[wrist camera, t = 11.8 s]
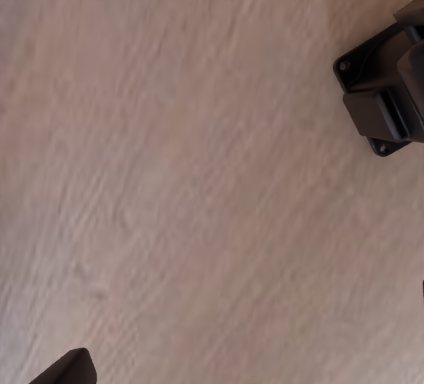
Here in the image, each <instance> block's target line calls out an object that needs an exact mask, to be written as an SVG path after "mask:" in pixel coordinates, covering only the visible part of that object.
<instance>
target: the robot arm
mask: <svg viewBox="0 0 424 384" xmlns="http://www.w3.org/2000/svg"><path fill="white" fill-rule="evenodd" d="M393 15H394V17H395V19H396V21H397V22H396V23H394V24H393V25H391V26H389V27H388V28H386V29H385V30H383V31H381V32H380V33H378V34H377V35H375V36H373V37H372V38H370V39H369V40H367V41H365V42H364V43H362V44H361V45H359V46H357V47H356V48H354V49H353V50H351V51H349V52H348V53H346V54H344V55H343V56H341V57H340V58H338V59H337V60H336V61H335V62H334V64H333V70H334V73H335V75H336V77H337V79H338V81H339V83H340V85H341V87H342V89H343V91H344V93H345V94H344V96H343V102H344V104H345V106H346V108H347V110H348V112H349V114H350V116H351V118H352V120H353V122H354V124H355V126H356V128H357V130H358V132H359V134H360V135H362V136H366V137H367V139H368V141H369V143H370V145H371V147H372V149H373V151H374V153H375V154H376V155H378V156H381V157H386V156H388V155H390V154H392V153H394V152H395V151H397V150H399V149H401V148H402V147H404V146H406V145H408V144H409V143H411V142H420V143H424V0H413V1H412V2H411V3H409V4H408V5H406V6H405V7H403V8H402V9H400V10H399V11H398V12H396V13H395V14H393ZM341 62H344V63H345V64H346V68H345V70H344V71H343V70H341V69H340V63H341ZM382 145H385V147H386V148H385V150H384V151H383V152H381V150H380V148H381V146H382ZM423 296H424V280H423ZM96 383H97V373H96V370H95V367H94V364H93V362H92V359H91V356H90V354H89V351H88V350H87V349H86V348H84V347H83V348H78V349H73V350H70V351H68V352H67V353H66V354H65V355H64V356H62V357H61V358H60V359H59V360H57V361H56V362H55V363H54V364H52V365H51V366H50V367H49V368H48V369H46V370H45V371H44V372H43V373H41V374H40V375H39V376H38V377H36V378H35V379H34V380H33V381H31V382H30V383H29V384H96Z"/></svg>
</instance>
